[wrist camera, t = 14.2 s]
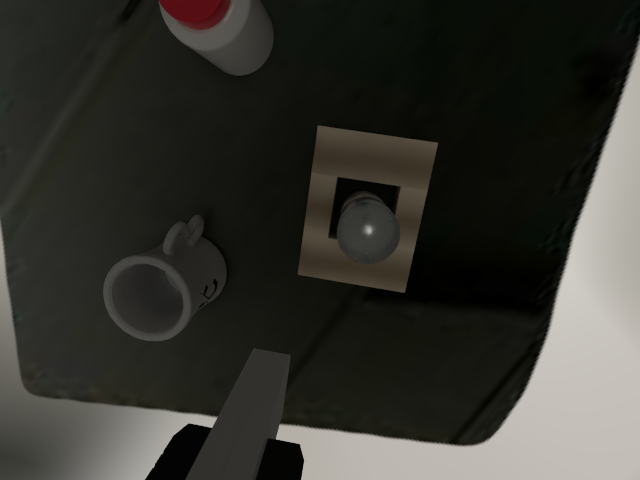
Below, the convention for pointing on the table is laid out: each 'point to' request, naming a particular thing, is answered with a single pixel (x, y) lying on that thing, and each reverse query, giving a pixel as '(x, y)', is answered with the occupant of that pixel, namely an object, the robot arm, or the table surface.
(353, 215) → the grey cylindrical peg
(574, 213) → the table surface
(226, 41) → the pill bottle
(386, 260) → the jig
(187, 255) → the mug
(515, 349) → the table surface
